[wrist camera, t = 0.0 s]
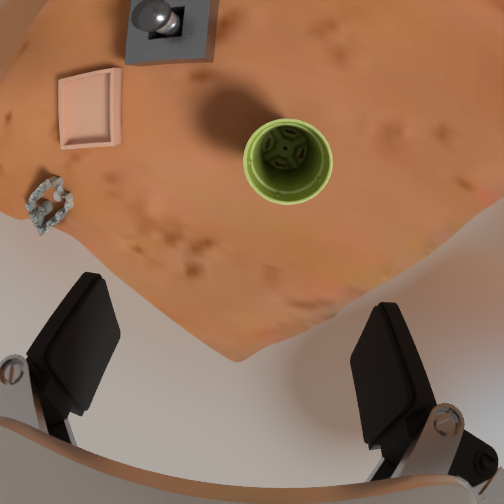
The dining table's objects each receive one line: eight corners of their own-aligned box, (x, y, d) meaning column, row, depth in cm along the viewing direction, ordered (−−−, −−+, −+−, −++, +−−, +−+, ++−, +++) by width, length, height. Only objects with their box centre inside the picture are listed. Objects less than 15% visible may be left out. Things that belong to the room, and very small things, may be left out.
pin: (165, 18, 27) (133, 0, 18) (194, 16, 27) (169, -6, 18) (163, 44, 29) (129, 32, 20) (192, 42, 29) (165, 27, 20)
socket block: (147, 3, 25) (132, -6, 21) (219, -4, 25) (212, -16, 21) (141, 66, 30) (124, 64, 26) (213, 62, 30) (205, 58, 26)
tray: (68, 78, 30) (58, 79, 28) (123, 68, 30) (114, 67, 28) (70, 145, 36) (61, 149, 34) (122, 142, 36) (114, 145, 34)
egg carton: (60, 169, 39) (45, 177, 35) (81, 204, 42) (68, 215, 39) (31, 197, 41) (18, 206, 38) (50, 228, 45) (38, 239, 41)
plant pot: (241, 171, 38) (234, 193, 31) (257, 105, 33) (254, 108, 26) (308, 188, 39) (317, 213, 31) (327, 124, 34) (343, 133, 26)
